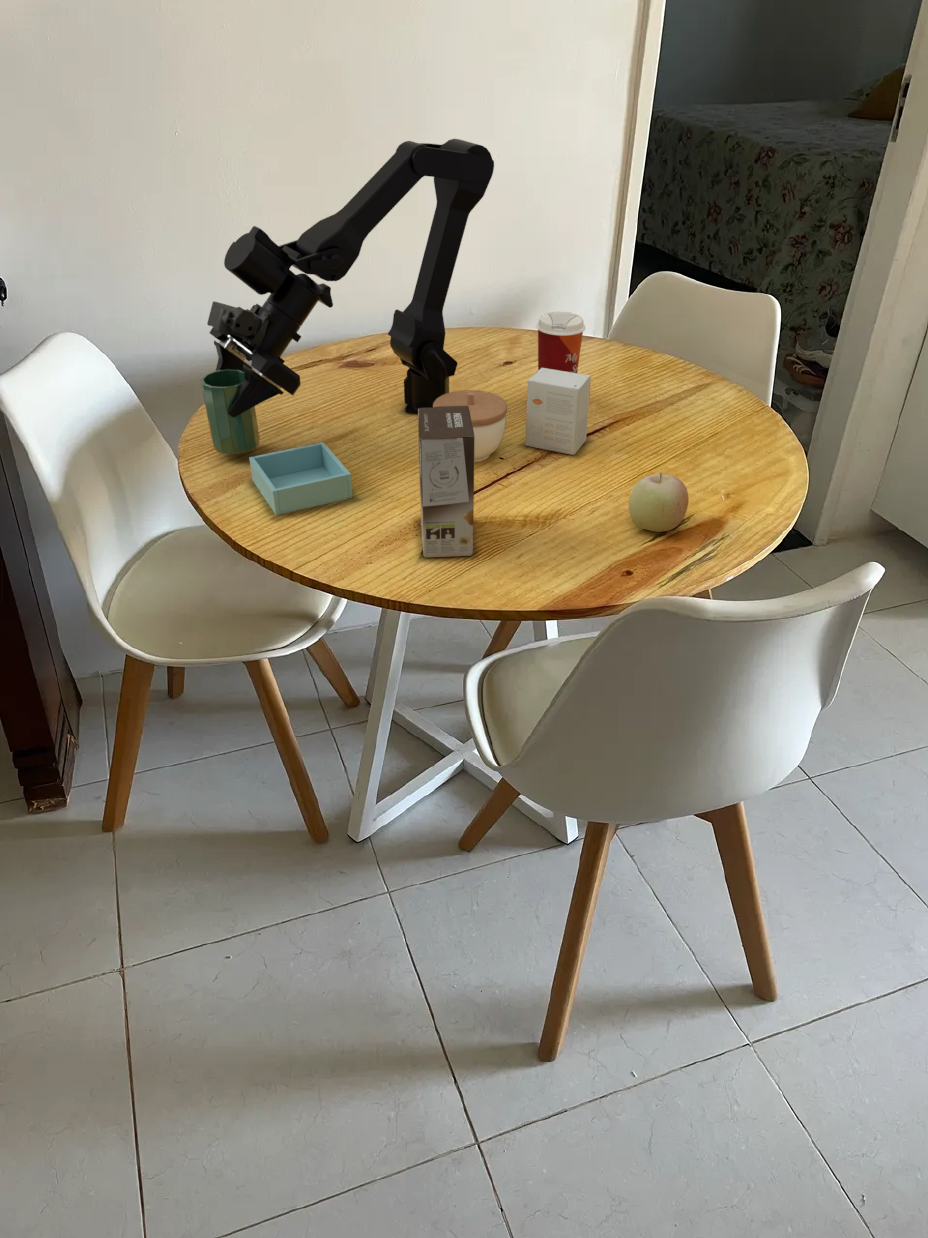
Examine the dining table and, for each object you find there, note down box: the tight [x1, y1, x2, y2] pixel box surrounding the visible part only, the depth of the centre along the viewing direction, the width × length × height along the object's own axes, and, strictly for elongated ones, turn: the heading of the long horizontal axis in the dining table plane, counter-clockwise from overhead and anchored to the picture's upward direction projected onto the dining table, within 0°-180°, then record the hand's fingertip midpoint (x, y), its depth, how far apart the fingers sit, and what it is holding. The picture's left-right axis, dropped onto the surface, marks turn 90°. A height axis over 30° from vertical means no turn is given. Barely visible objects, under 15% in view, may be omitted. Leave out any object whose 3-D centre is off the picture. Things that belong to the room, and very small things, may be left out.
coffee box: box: [417, 406, 475, 558], centre depth 112 cm, size 9×6×16 cm
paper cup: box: [535, 311, 586, 373], centre depth 147 cm, size 8×8×14 cm
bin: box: [248, 441, 354, 516], centre depth 126 cm, size 11×11×4 cm
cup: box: [200, 369, 260, 455], centre depth 131 cm, size 7×7×10 cm
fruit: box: [628, 471, 689, 533], centre depth 118 cm, size 8×7×8 cm
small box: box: [525, 368, 592, 456], centre depth 136 cm, size 8×6×10 cm
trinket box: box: [433, 389, 509, 464], centre depth 134 cm, size 11×11×9 cm
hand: (220, 406), depth 129 cm, fingers closed on cup, 7 cm apart
